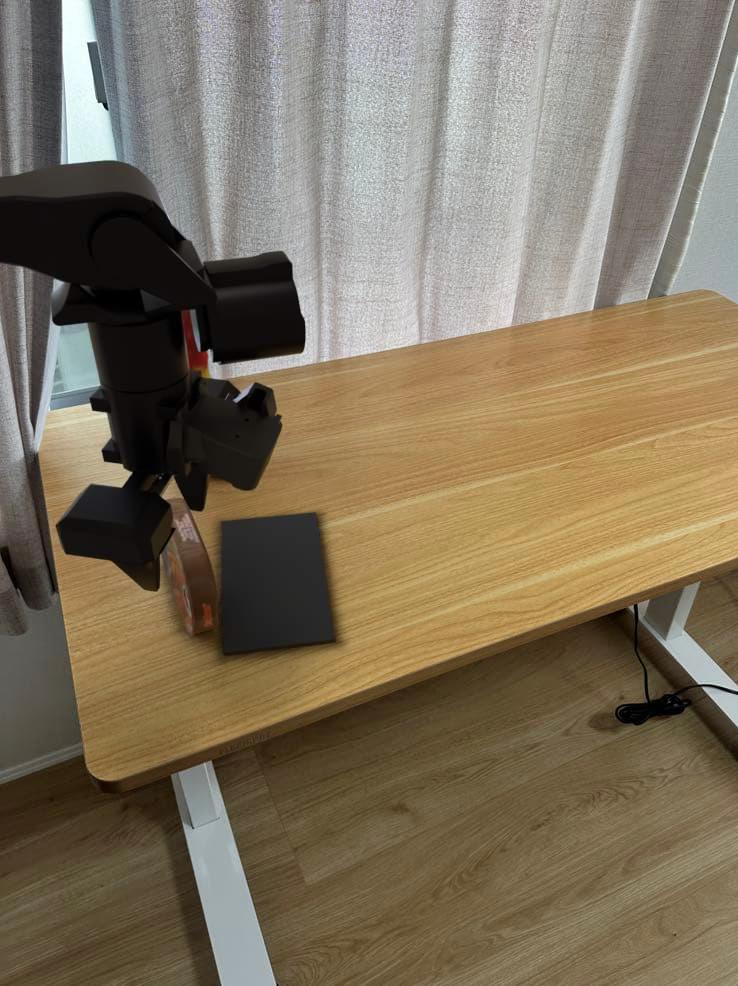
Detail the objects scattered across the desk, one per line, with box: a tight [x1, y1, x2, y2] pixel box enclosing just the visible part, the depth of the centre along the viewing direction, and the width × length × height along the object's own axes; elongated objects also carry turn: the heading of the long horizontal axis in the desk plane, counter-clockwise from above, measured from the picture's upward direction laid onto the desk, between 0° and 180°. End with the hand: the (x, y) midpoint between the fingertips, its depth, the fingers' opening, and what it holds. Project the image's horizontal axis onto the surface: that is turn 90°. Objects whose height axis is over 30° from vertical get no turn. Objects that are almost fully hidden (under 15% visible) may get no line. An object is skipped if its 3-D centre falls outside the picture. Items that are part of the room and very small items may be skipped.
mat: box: [220, 511, 337, 656], centre depth 79 cm, size 10×18×1 cm, turn 11°
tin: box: [161, 497, 220, 637], centre depth 74 cm, size 15×3×8 cm, turn 25°
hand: (175, 547), depth 62 cm, fingers open, 9 cm apart
